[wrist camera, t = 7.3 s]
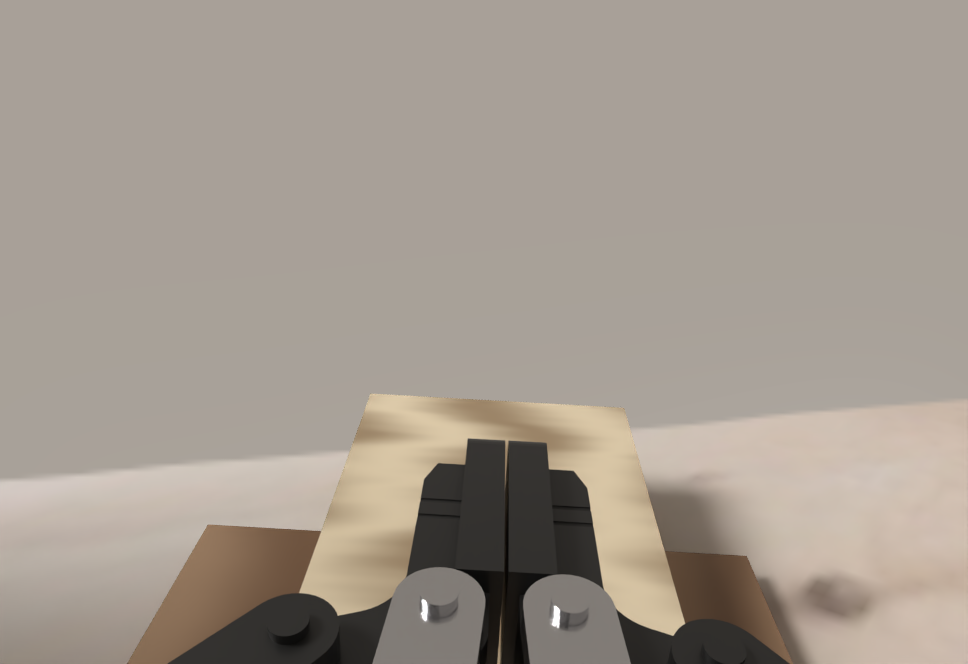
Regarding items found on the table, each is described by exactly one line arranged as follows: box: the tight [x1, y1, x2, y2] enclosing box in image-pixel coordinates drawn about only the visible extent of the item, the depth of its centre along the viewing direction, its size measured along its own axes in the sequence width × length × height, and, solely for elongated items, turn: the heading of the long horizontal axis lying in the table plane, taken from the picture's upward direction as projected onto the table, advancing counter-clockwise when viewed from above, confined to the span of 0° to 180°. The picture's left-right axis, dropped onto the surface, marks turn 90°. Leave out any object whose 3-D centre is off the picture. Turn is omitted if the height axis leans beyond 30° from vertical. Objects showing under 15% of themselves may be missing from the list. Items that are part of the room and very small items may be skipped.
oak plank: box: [299, 394, 685, 664], centre depth 22 cm, size 10×3×16 cm
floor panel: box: [127, 525, 793, 664], centre depth 22 cm, size 19×8×1 cm, turn 88°
